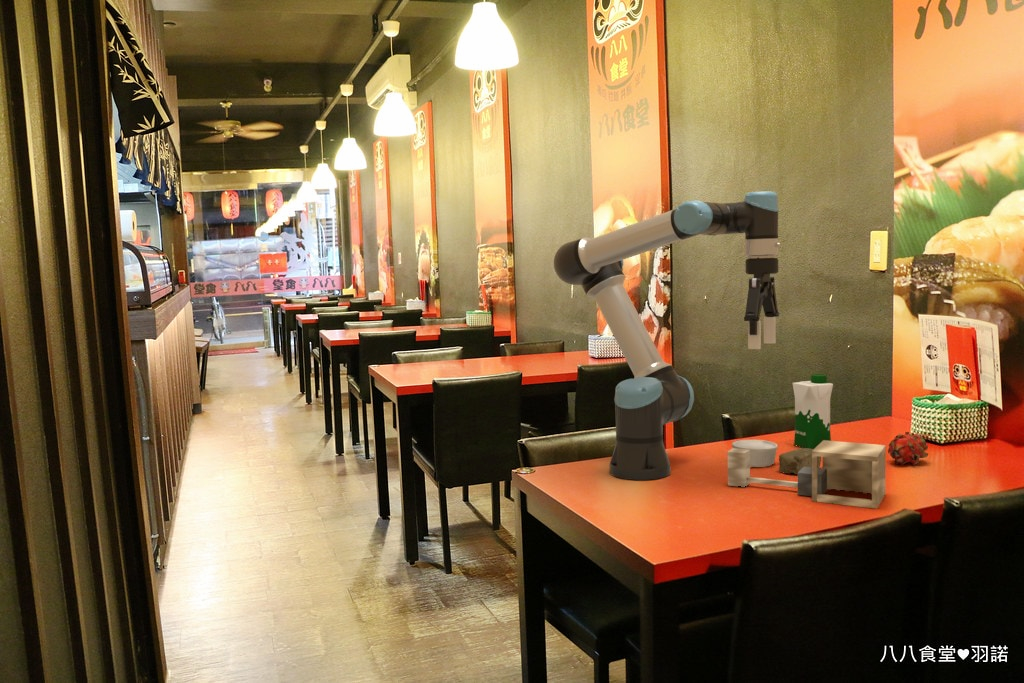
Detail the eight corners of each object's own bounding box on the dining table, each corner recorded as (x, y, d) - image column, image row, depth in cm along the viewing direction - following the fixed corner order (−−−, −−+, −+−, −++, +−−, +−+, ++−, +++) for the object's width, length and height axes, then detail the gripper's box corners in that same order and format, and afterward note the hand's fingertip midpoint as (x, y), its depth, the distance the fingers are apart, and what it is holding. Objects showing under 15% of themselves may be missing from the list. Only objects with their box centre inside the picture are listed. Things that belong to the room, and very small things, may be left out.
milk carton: (836, 448, 224) (836, 376, 222) (808, 451, 221) (808, 378, 219) (815, 442, 232) (815, 372, 230) (788, 445, 229) (788, 375, 228)
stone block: (822, 468, 204) (822, 449, 203) (798, 477, 196) (798, 457, 196) (801, 464, 208) (801, 445, 208) (777, 473, 201) (776, 453, 200)
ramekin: (787, 465, 207) (787, 445, 207) (751, 471, 203) (750, 450, 203) (758, 456, 218) (758, 437, 217) (723, 461, 213) (723, 442, 213)
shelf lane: (811, 501, 176) (811, 451, 175) (823, 487, 186) (823, 440, 185) (877, 508, 169) (877, 456, 168) (885, 494, 179) (885, 445, 178)
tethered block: (726, 486, 189) (726, 452, 188) (734, 480, 194) (734, 447, 193) (821, 497, 178) (821, 461, 177) (826, 490, 183) (826, 455, 182)
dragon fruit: (924, 466, 208) (897, 480, 202) (898, 442, 213) (870, 456, 207) (942, 443, 203) (915, 458, 197) (914, 420, 208) (887, 433, 202)
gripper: (763, 257, 181) (764, 351, 183) (790, 256, 202) (790, 341, 204) (730, 258, 185) (731, 351, 187) (760, 257, 206) (760, 340, 208)
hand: (762, 346), depth 195 cm, fingers open, 13 cm apart
